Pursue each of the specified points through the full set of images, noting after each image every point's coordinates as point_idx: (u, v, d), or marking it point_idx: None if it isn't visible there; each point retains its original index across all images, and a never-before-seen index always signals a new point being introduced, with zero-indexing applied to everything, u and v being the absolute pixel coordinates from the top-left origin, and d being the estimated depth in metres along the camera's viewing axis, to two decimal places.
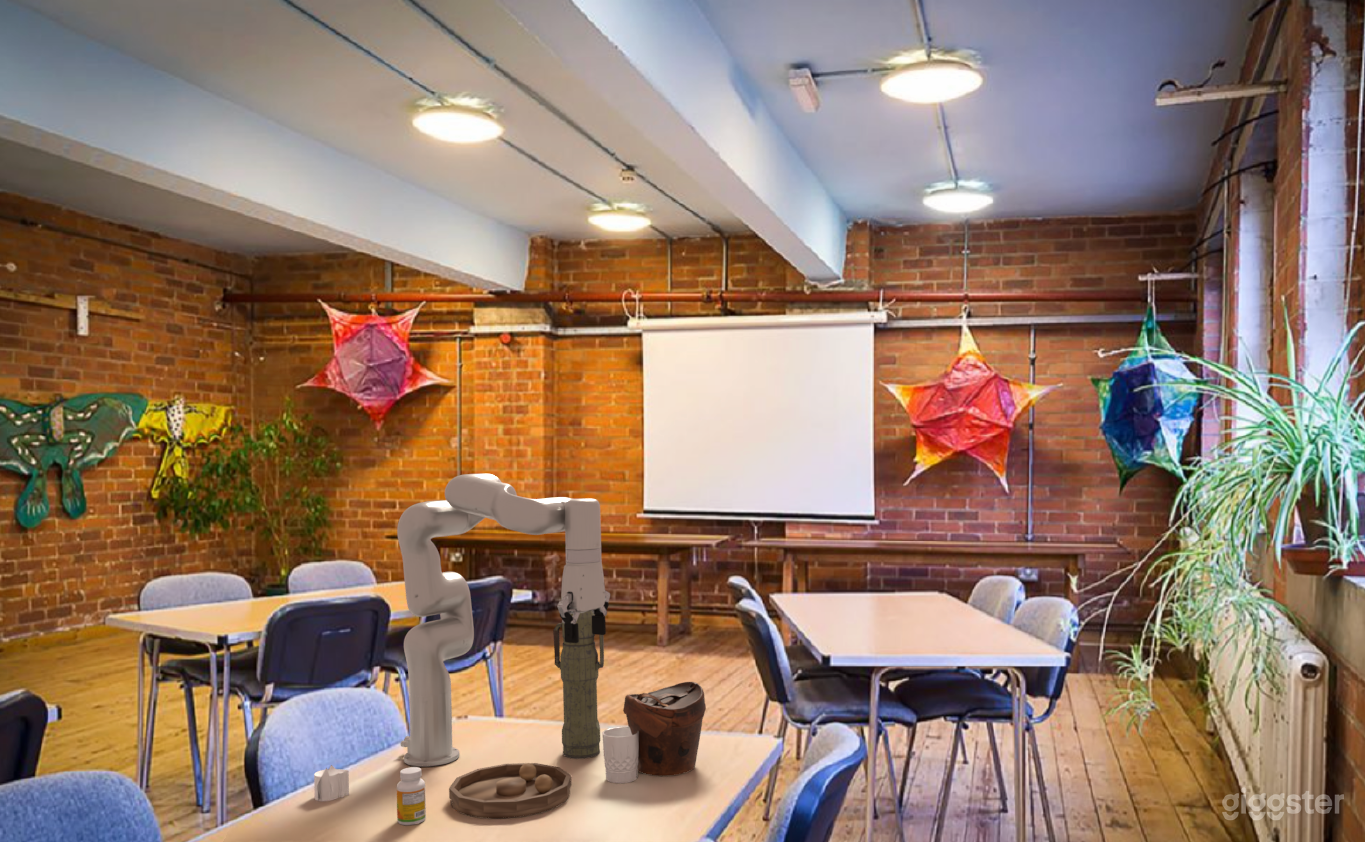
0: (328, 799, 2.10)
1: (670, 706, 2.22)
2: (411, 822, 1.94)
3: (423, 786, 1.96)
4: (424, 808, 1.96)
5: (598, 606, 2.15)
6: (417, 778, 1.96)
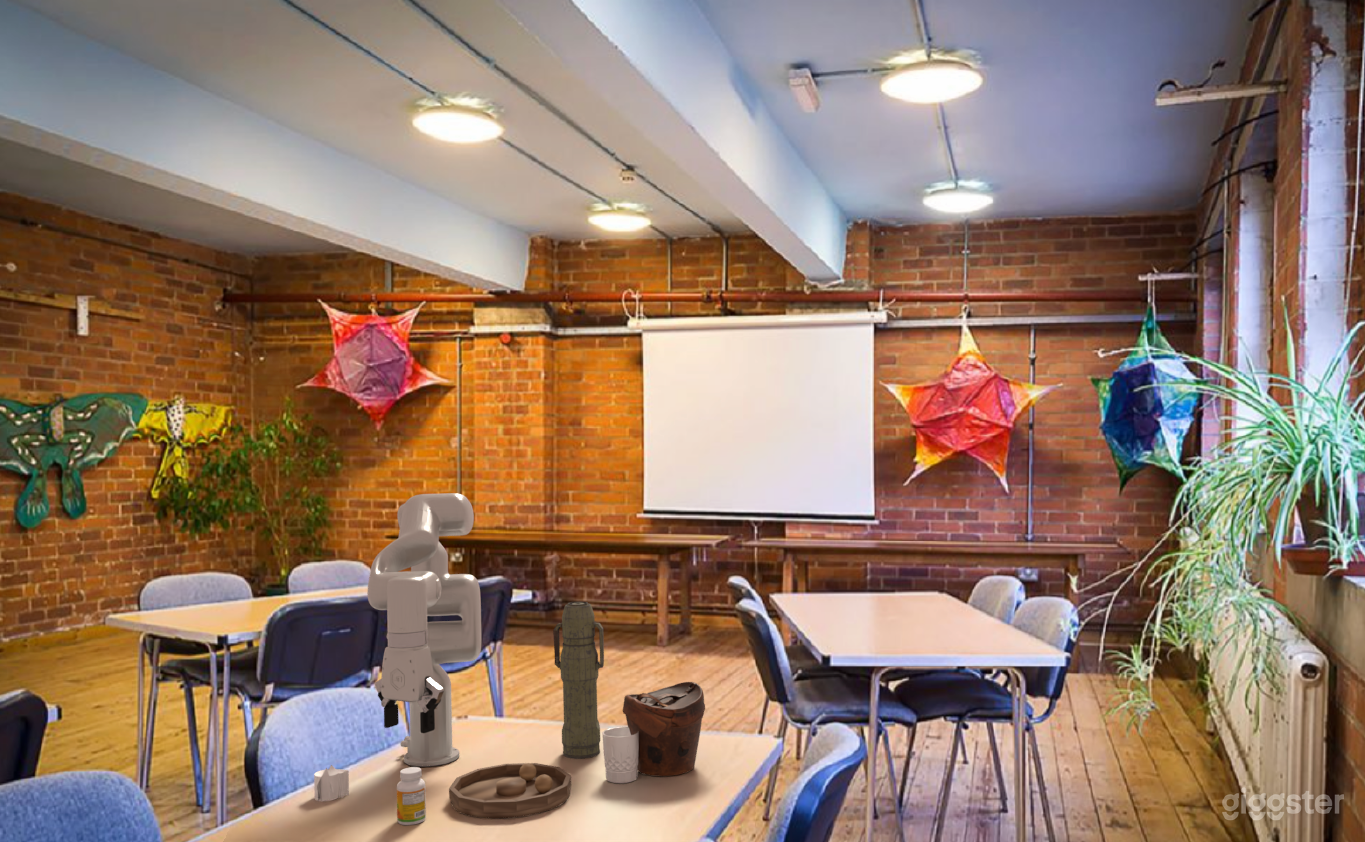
0: (328, 799, 2.10)
1: (669, 706, 2.22)
2: (411, 822, 1.94)
3: (423, 786, 1.96)
4: (424, 808, 1.96)
5: None
6: (417, 778, 1.96)
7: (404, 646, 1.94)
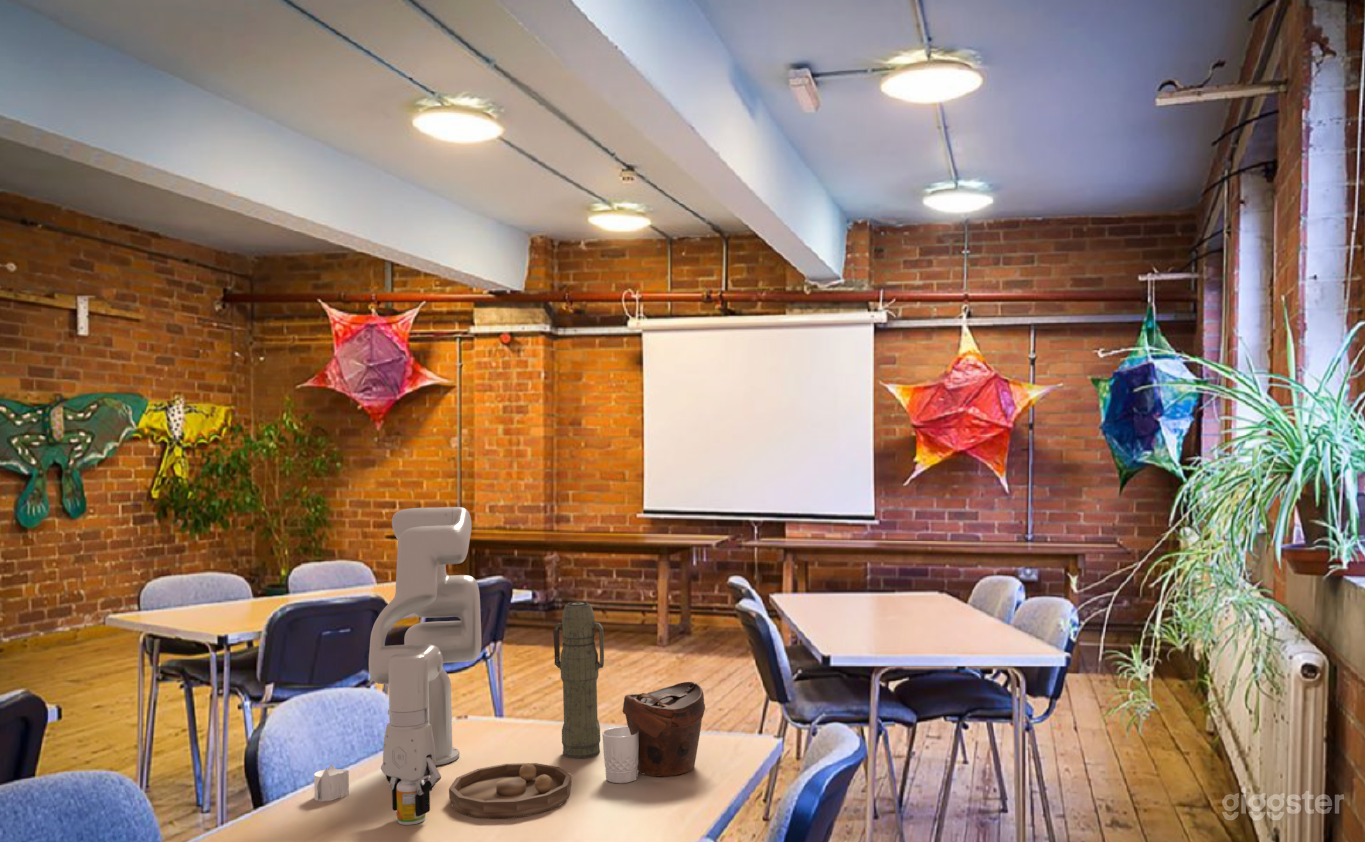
0: (328, 799, 2.10)
1: (669, 706, 2.22)
2: (411, 822, 1.94)
3: None
4: None
5: None
6: None
7: (406, 725, 1.94)
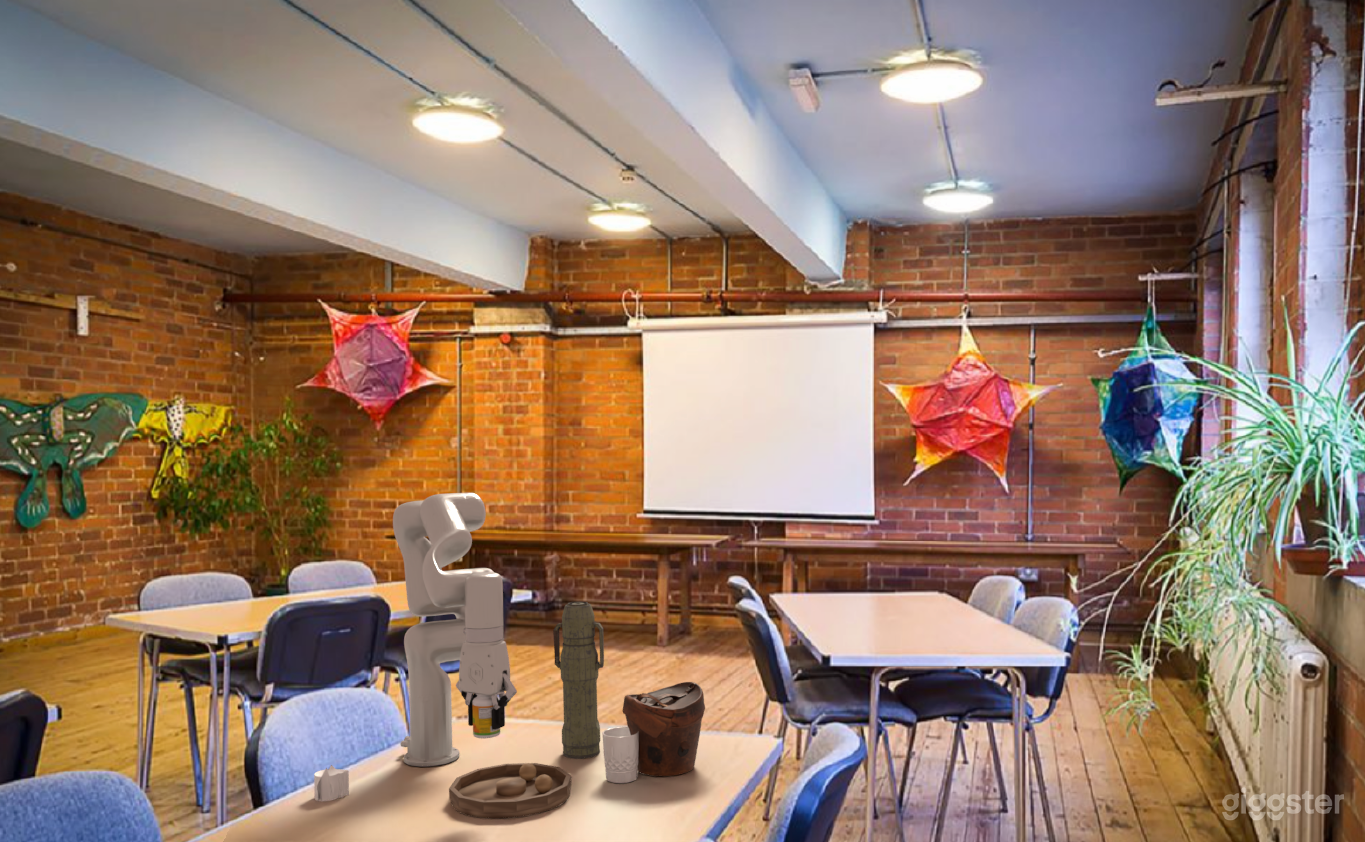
0: (328, 799, 2.10)
1: (669, 706, 2.22)
2: (487, 735, 2.00)
3: None
4: None
5: None
6: None
7: (482, 641, 2.00)
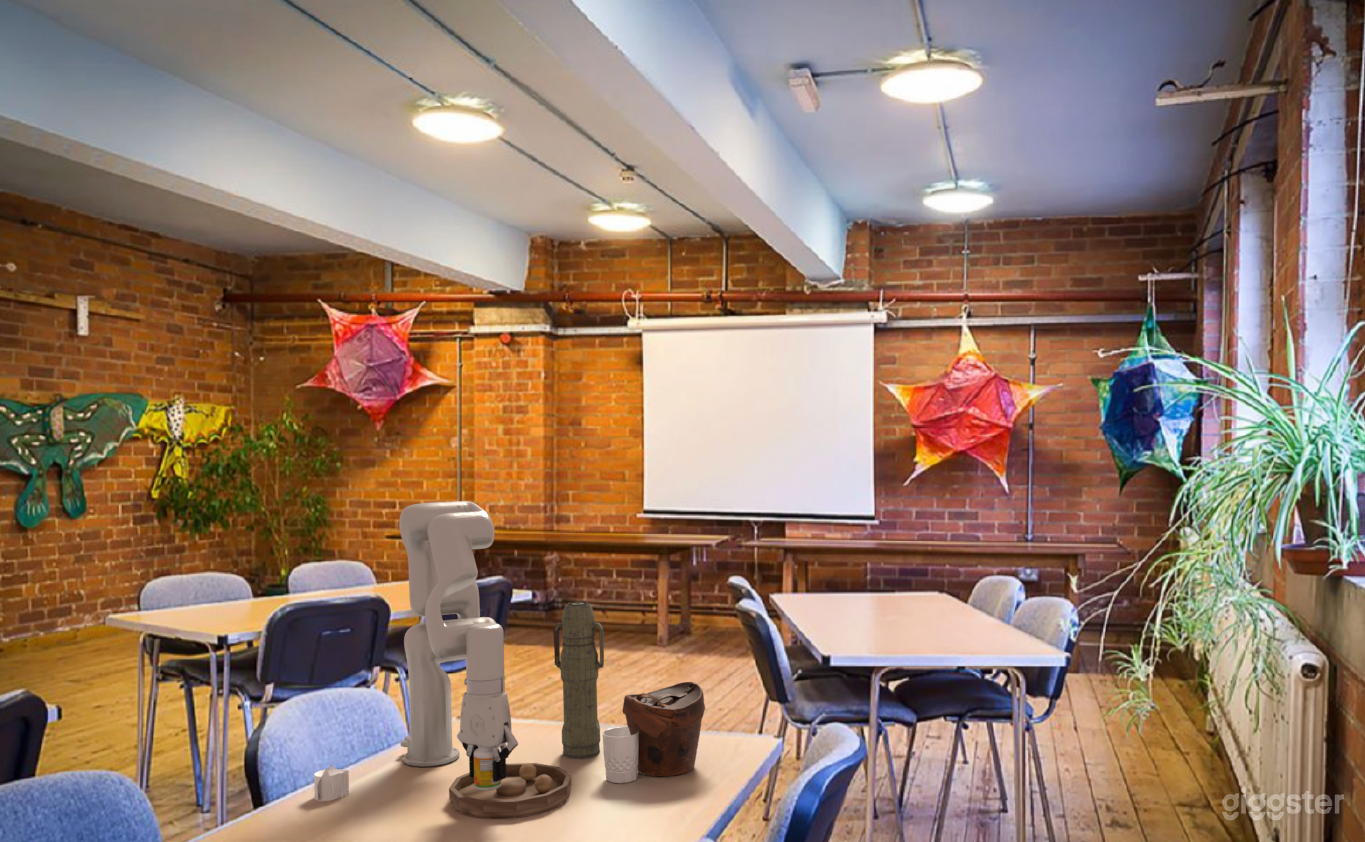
0: (328, 799, 2.10)
1: (669, 706, 2.22)
2: (488, 788, 2.00)
3: None
4: None
5: None
6: None
7: (484, 693, 1.99)
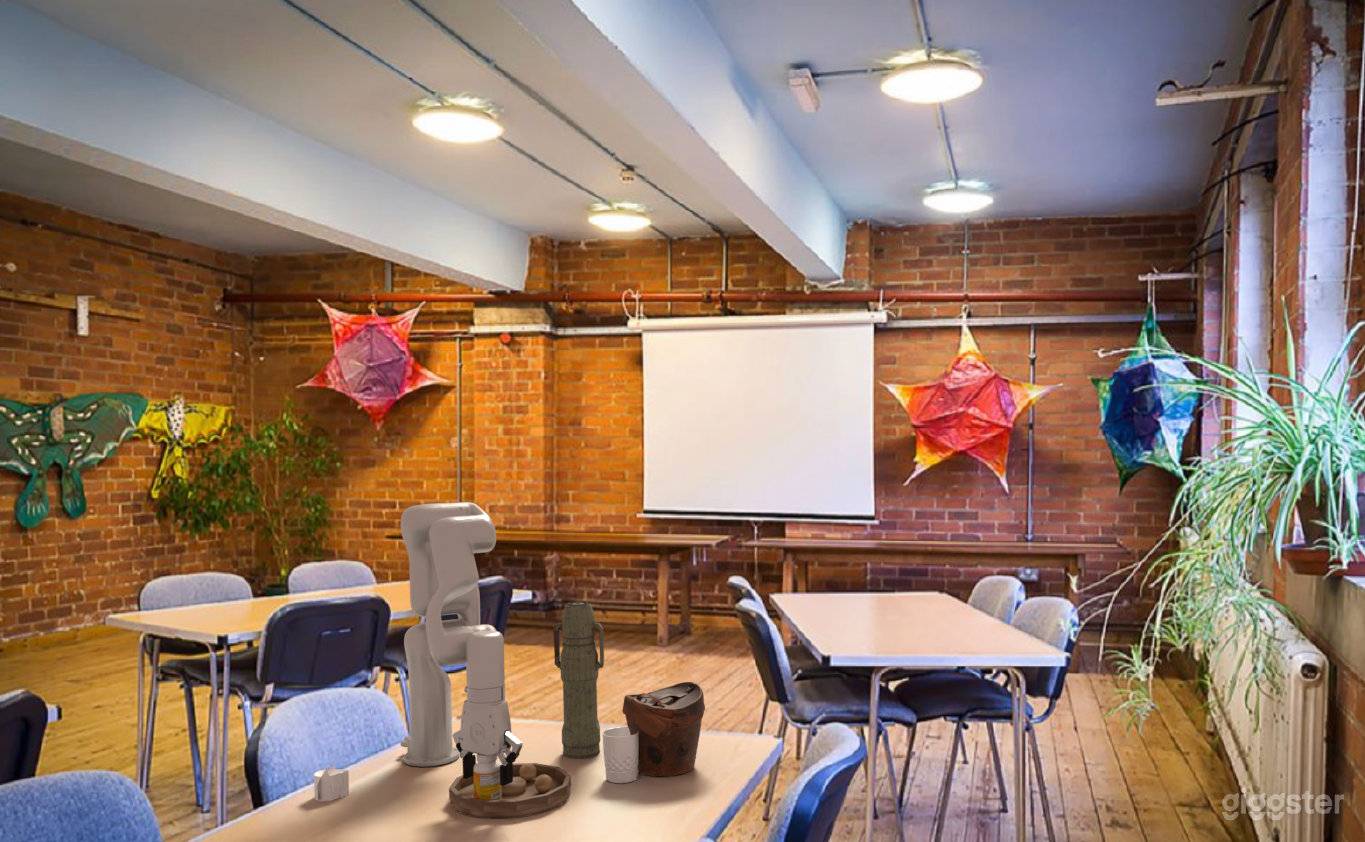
0: (328, 799, 2.10)
1: (669, 706, 2.22)
2: None
3: (499, 768, 2.02)
4: (500, 789, 2.03)
5: None
6: (493, 760, 2.02)
7: (484, 701, 1.99)
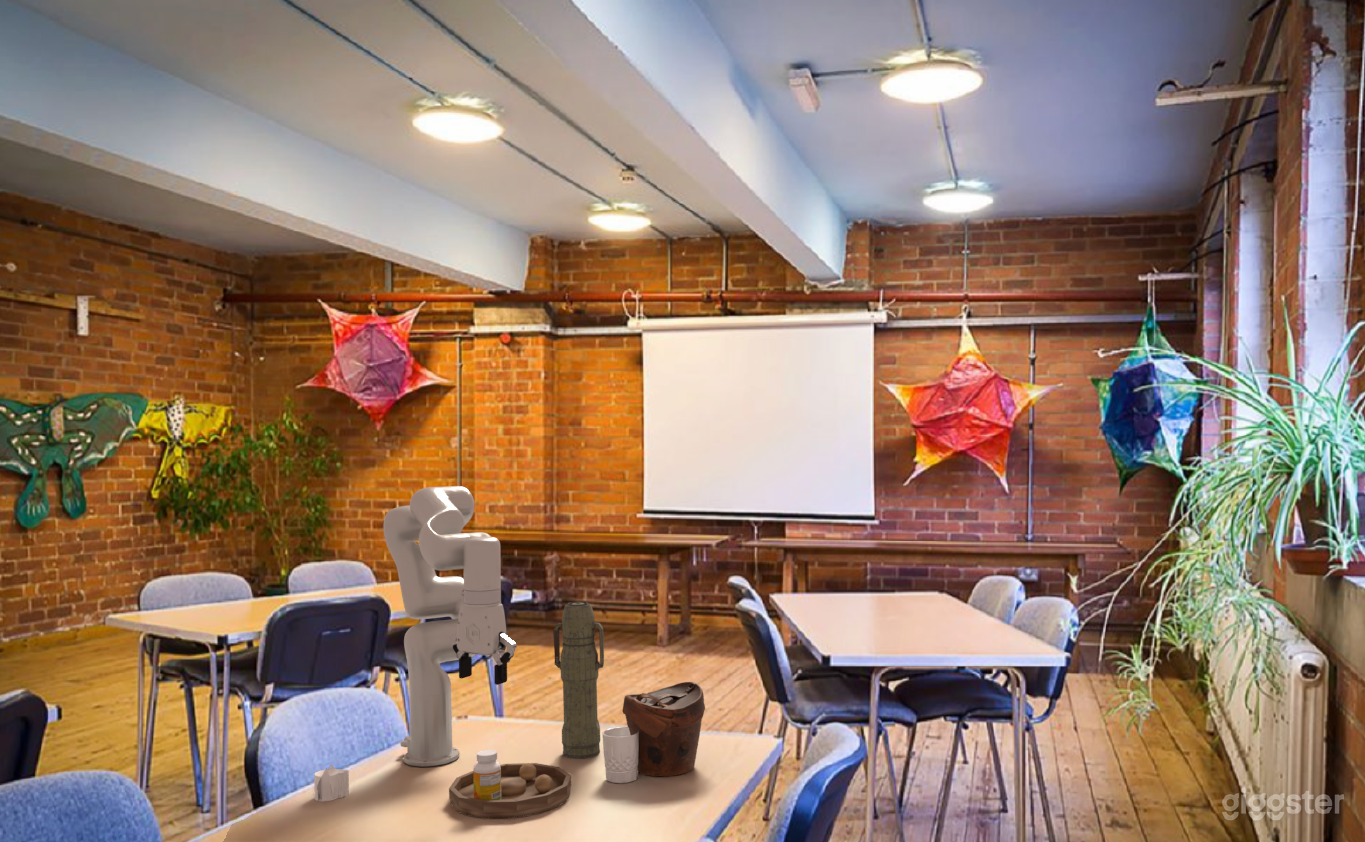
0: (328, 799, 2.10)
1: (669, 706, 2.22)
2: None
3: (499, 768, 2.02)
4: (500, 789, 2.03)
5: None
6: (493, 760, 2.02)
7: (480, 603, 2.06)
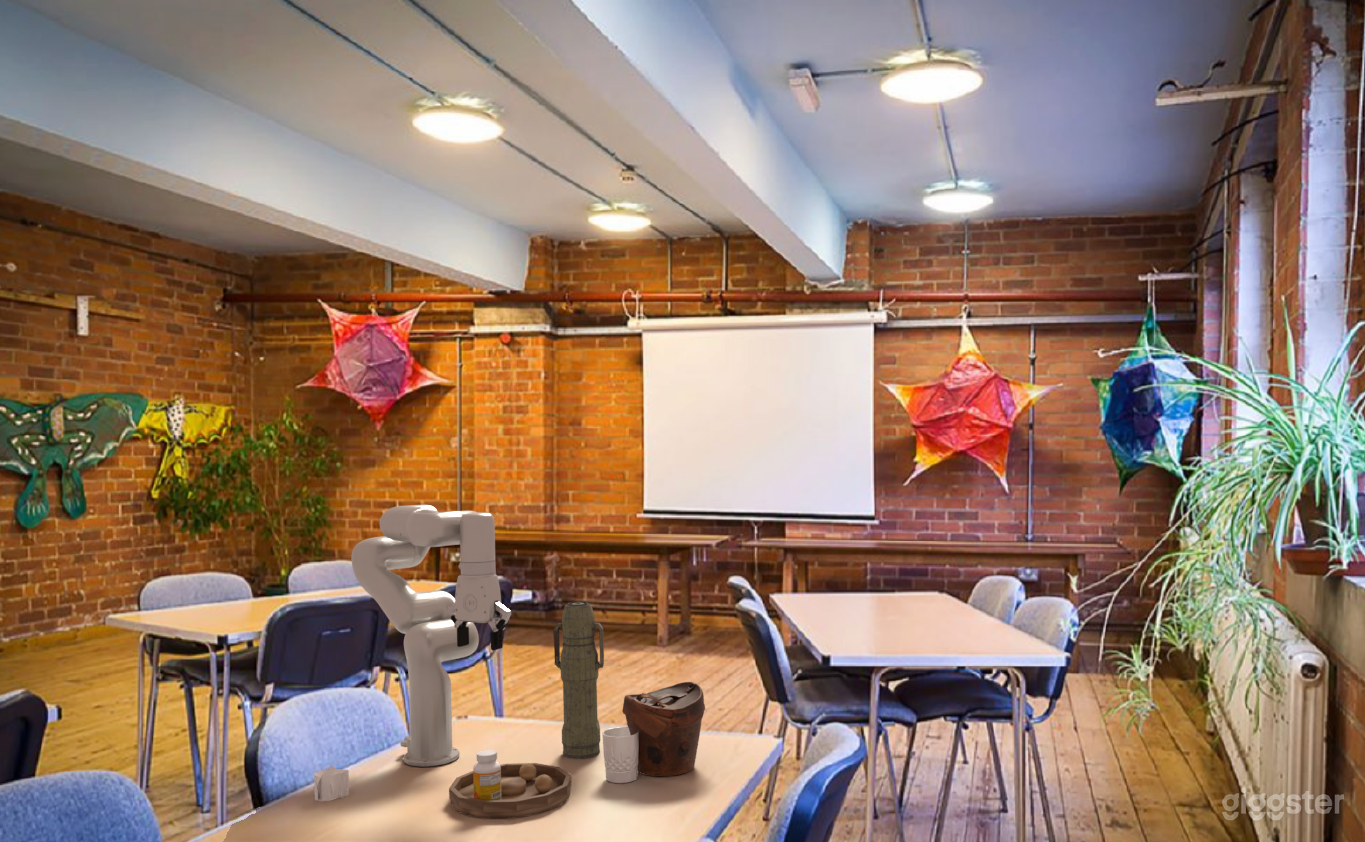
0: (328, 799, 2.10)
1: (669, 706, 2.22)
2: None
3: (499, 768, 2.02)
4: (500, 789, 2.03)
5: None
6: (493, 760, 2.02)
7: (476, 573, 2.19)
